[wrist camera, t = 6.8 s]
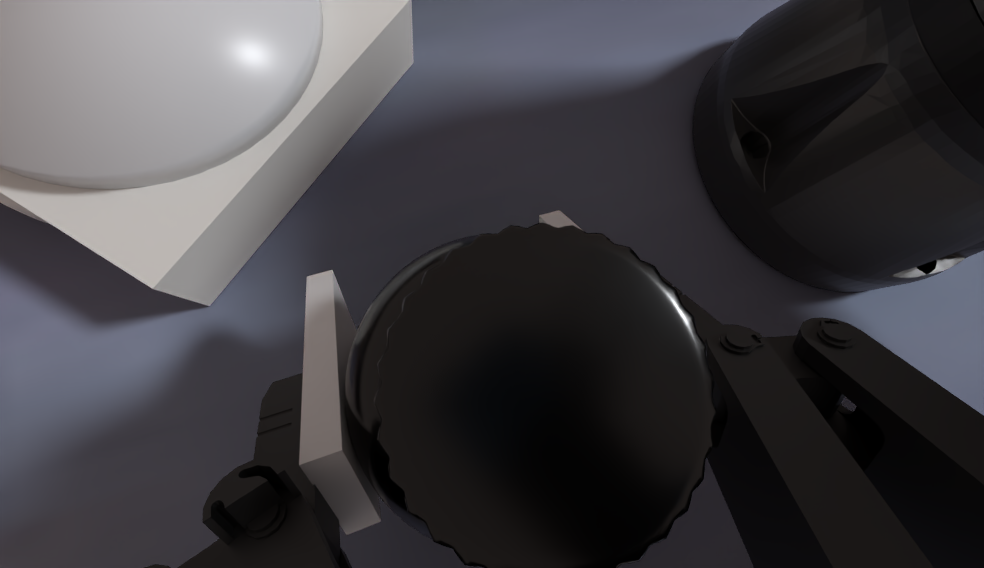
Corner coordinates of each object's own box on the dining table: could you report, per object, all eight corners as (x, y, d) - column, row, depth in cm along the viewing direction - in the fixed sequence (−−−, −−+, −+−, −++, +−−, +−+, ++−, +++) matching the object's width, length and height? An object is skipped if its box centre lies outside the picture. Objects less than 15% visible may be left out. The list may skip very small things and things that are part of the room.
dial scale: (161, -104, 20) (84, -243, 15) (413, 63, 20) (410, -26, 16) (-116, 118, 16) (-324, 20, 12) (199, 318, 16) (115, 298, 12)
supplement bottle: (495, 266, 18) (616, 86, 7) (579, 404, 18) (872, 468, 6) (351, 347, 17) (182, 296, 5) (437, 502, 16) (468, 842, 5)
